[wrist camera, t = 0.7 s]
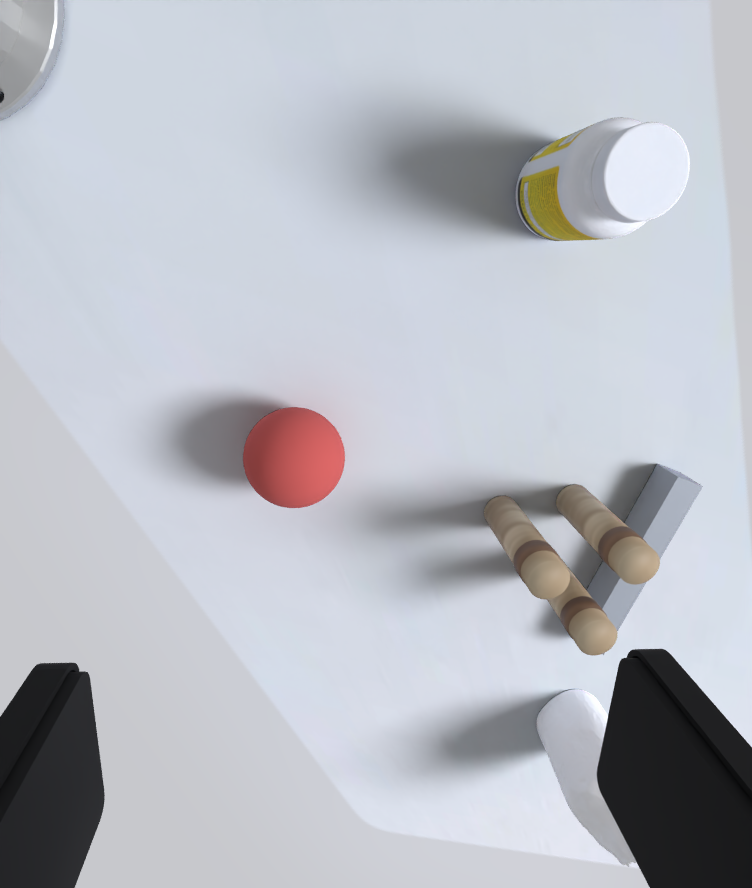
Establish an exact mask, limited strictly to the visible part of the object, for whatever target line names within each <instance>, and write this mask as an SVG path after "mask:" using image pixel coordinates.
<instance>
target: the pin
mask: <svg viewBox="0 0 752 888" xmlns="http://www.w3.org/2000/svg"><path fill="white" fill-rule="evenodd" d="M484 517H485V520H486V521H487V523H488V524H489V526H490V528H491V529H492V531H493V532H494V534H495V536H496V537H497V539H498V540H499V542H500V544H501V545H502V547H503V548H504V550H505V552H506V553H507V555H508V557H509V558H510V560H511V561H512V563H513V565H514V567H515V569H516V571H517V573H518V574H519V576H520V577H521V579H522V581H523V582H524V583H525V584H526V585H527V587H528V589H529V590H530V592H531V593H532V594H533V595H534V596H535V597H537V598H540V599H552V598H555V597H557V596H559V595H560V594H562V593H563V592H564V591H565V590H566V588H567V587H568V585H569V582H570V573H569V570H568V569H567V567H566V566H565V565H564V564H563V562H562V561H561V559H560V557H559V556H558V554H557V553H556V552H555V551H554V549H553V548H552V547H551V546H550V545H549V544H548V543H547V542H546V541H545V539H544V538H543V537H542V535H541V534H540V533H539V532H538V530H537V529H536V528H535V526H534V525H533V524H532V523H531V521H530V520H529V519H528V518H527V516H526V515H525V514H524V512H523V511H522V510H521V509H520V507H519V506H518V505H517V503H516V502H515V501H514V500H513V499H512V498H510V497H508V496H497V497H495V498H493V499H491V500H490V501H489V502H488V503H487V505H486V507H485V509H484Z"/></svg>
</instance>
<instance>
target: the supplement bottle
mask: <svg viewBox="0 0 752 888" xmlns="http://www.w3.org/2000/svg"><path fill="white" fill-rule="evenodd" d="M689 170H690V159H689V153H688V149H687V146H686V144H685V142H684V140H683V139H682V137H681V136H680V135H679V134H678V132H676V131H675V130H674V129H673V128H671V127H669V126H667V125H665V124H662V123H658V122H646V123H642V122H640V121H637V120H634V119H631V118H623V117H620V118H611V119H607V120H604V121H601V122H598V123H596V124H593V125H591V126H589V127H586V128H584V129H582V130H579V131H577V132H575V133H573V134H570V135H568V136H566V137H563V138H561V139H559V140H557V141H554V142H552V143H550V144H548V145H546V146H544V147H542V148H541V149H539V150H538V151H537V152H535V153H534V154H533V155H532V156H531V157H530V158H529V160H528V161H527V162H526V164H525V165H524V167H523V168H522V170H521V172H520V175H519V178H518V181H517V185H516V206H517V210H518V213H519V216H520V218H521V220H522V221H523V223H524V224H525V225H526V227H527V228H528V229H529V230H530V231H531V232H533V233H534V234H536V235H537V236H539V237H542V238H544V239H548V240H554V241H570V240H596V239H612V238H617V237H621V236H624V235H627V234H629V233H631V232H633V231H635V230H636V229H638V228H640V227H641V226H642V225H643V224H645V223H646V222H647V221H648V220H652V219H654V218H657V217H659V216H661V215H662V214H664V213H666V212H667V211H668V210H669V209H670V208H671V207H672V206H673V205H674V204H675V203H676V202H677V201H678V199H679V198H680V196H681V194H682V193H683V191H684V189H685V187H686V184H687V181H688V177H689Z"/></svg>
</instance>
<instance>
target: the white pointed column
mask: <svg viewBox="0 0 752 888" xmlns="http://www.w3.org/2000/svg"><path fill="white" fill-rule="evenodd" d="M607 719H608V715H607V714H606V712H605V711H604V709H603V707H602V706H601V704H600V703H599V701H598V700H597V698H596V697H595V696H593V695H592V694H591V693H589V692H587V691H584V690H581V689H574V690H568V691H565V692H562V693H560V694H559V695H557V696H556V697H554V698H552V699H551V700H550V701H549V702H548V703H547V704H546V705H545V706H544V707H543V708H542V710H541V711H540V713H539V714H538V717H537V731H538V734H539V736H540V738H541V741H542V743H543V745H544V748H545V750H546V753H547V755H548V757H549V759H550V762H551V764H552V767H553V769H554V772H555V774H556V777H557V779H558V782H559V784H560V787H561V790H562V792H563V794H564V796H565V799H566V801H567V804H568V806H569V808H570V809H571V811H572V812H573V814H574V815H575V817H576V818H577V819H578V821H579V822H580V823H581V824H582V826H583V827H585V828H586V829H587V830H588V832H589V833H590V834H591V835H592V836H593V837H594V838H595V839H596V841H597V842H598V843H599V844H600V845H601V846H602V847H604V848H605V849H606V850H607V851H609V852H610V853H612V854H613V855H614V856H615V857H616V858H617V859H618V861H619V862H620V863H621V864H623V865H627V866H628V867H629V864H631V863H632V862H634V863H636V860H635V858H634V856H633V854H632V852H631V850H630V848H629V846H628V845H627V843H626V841H625V839H624V837H623V835H622V833H621V831H620V829H619V827H618V825H617V823H616V822H615V820H614V818H613V816H612V814H611V812H610V810H609V808H608V806H607V804H606V802H605V800H604V799H603V797H602V795H601V792H600V790H599V786H598V782H597V767H598V762H599V758H600V753H601V748H602V743H603V738H604V734H605V729H606V724H607Z"/></svg>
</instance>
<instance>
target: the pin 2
mask: <svg viewBox="0 0 752 888" xmlns="http://www.w3.org/2000/svg"><path fill="white" fill-rule="evenodd" d="M554 551H555V550H554ZM555 552H556V551H555ZM558 556H559V555H558ZM559 557H560V556H559ZM560 559H561V558H560ZM561 561H562V562H563V560H562V559H561ZM563 564H564V565H565V566H566V567H567V565H566V564H565V563H564V562H563ZM567 569H568V570H569V573H570V582H569V585H568V587H567V588H566V590H565V591H564V592H563V593H562V594H560V595H559V596H557V597H555V598H552V599H547V600H548V602H549V603H550V605H551V606H552V608H553V609H554V611H555V612H556V614H557V615H558V617H559V618H560V620H561V623H562V624H563V626H564V627H565V629H566V630H567V632H568V634H569V635H570V637H571V638H572V639H573V640H574V641H575V643H576V644H577V646H578V647H579V649H580V650H581V651H582V652H583V653H585V654H588V655H600V654H603V653H605V652H607V651H608V650H609V649H611V648H612V646H613V645H614V644H615V642H616V639H617V630H616V628H615V626H614V625H613V624H612V622H611V621H610V620H609V619H608V617H607V615H606V613H605V612H604V611H603V610H602V608H601V607H600V606H599V605H598V603H597V602H596V601H595V600H594V599H593V598H592V597H591V596H590V594H589V593H588V592H587V591H586V589H585V588H584V587H583V586H582V584H581V583H580V582H579V581H578V579H577V578H576V577H575V575H574V574H573V573H572V572H571V570H570V569H569V568H568V567H567Z"/></svg>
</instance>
